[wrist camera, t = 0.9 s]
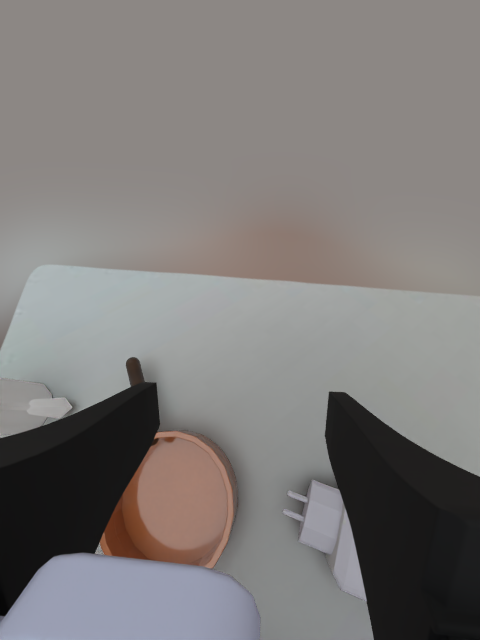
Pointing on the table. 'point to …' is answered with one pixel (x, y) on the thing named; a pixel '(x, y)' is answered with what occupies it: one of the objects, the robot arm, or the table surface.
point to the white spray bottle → (27, 406)
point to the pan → (176, 504)
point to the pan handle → (136, 376)
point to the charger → (330, 534)
